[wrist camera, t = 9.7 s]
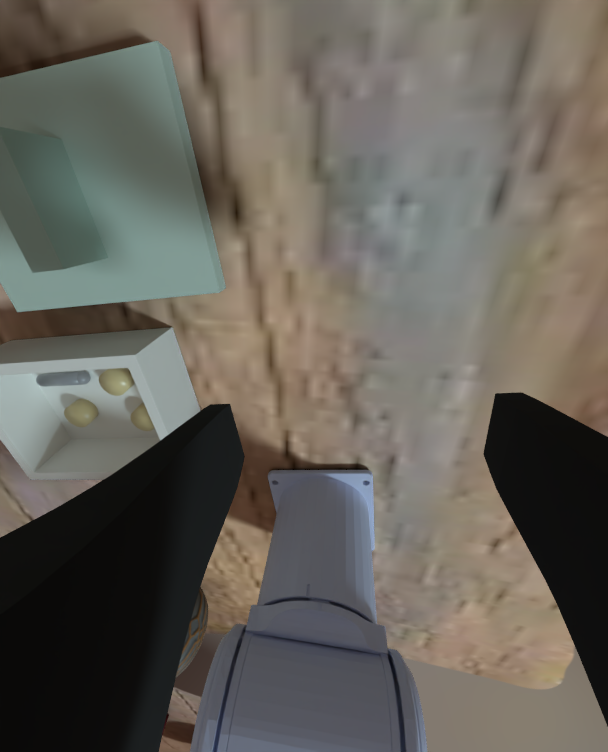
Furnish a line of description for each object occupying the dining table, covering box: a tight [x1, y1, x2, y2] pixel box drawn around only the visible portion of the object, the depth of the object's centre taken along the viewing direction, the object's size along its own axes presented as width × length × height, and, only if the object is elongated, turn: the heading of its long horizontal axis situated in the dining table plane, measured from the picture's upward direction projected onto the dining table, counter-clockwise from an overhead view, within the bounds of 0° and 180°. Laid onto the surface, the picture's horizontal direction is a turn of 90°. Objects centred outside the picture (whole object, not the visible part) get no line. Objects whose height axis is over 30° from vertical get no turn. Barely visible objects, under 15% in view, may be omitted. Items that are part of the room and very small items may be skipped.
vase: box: [176, 589, 208, 677], centre depth 32 cm, size 7×7×9 cm
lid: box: [0, 41, 226, 312], centre depth 15 cm, size 10×13×5 cm
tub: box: [0, 327, 201, 480], centre depth 21 cm, size 9×12×4 cm
